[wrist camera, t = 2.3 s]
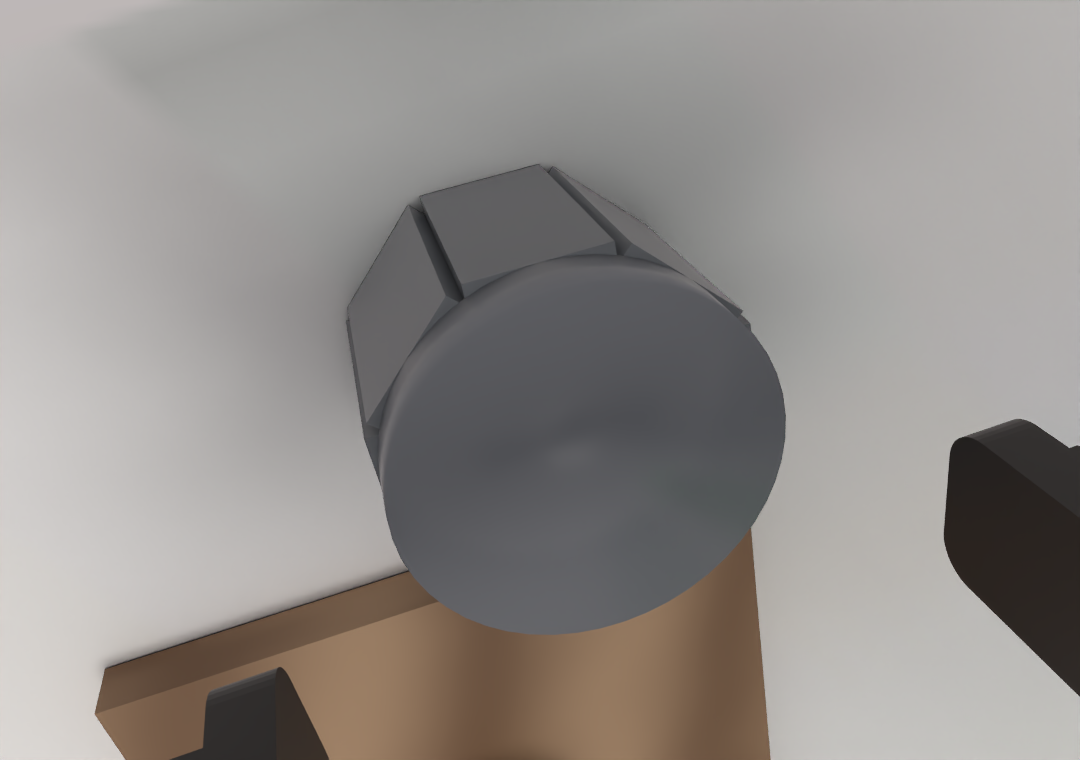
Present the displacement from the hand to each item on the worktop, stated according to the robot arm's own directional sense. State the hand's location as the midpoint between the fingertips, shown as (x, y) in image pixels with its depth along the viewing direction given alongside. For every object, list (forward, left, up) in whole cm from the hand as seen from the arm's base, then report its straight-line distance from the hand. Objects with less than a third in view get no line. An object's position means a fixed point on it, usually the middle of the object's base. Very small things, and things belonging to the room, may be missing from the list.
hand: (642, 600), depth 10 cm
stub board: (+3, +12, -8) cm, 15 cm away
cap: (0, 0, -8) cm, 8 cm away
